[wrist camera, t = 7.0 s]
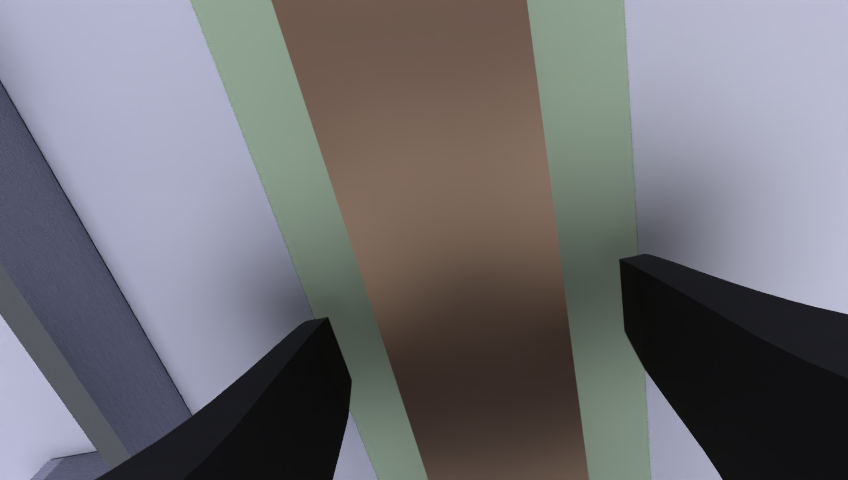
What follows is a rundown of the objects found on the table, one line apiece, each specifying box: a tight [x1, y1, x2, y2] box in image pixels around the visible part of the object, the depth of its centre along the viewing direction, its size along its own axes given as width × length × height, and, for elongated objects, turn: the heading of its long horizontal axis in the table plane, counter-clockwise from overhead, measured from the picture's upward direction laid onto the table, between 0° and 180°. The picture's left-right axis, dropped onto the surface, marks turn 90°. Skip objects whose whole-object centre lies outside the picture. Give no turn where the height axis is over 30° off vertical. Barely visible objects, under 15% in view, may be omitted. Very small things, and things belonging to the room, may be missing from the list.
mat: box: [190, 0, 651, 480], centre depth 12 cm, size 20×9×1 cm, turn 13°
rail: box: [271, 0, 589, 480], centre depth 10 cm, size 18×4×4 cm, turn 13°
